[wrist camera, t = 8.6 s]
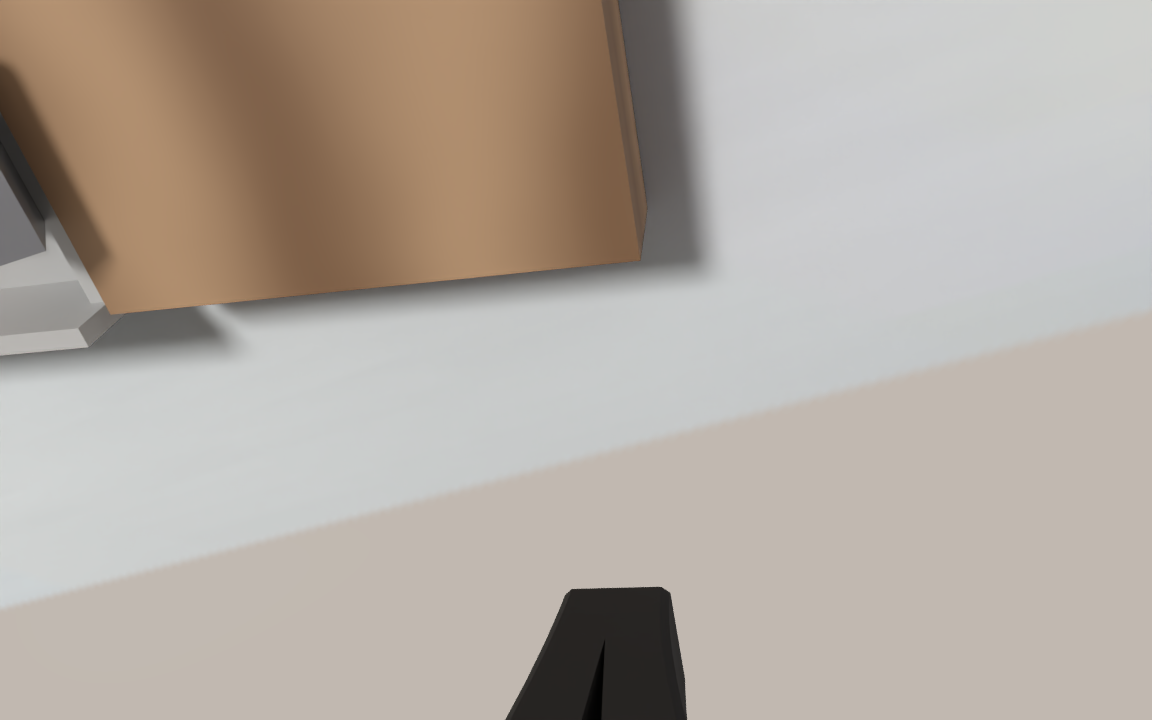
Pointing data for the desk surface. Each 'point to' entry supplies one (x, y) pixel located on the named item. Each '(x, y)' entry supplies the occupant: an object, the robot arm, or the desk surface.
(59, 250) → the tray
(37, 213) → the tile charcoal
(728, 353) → the desk surface
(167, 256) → the walnut board
